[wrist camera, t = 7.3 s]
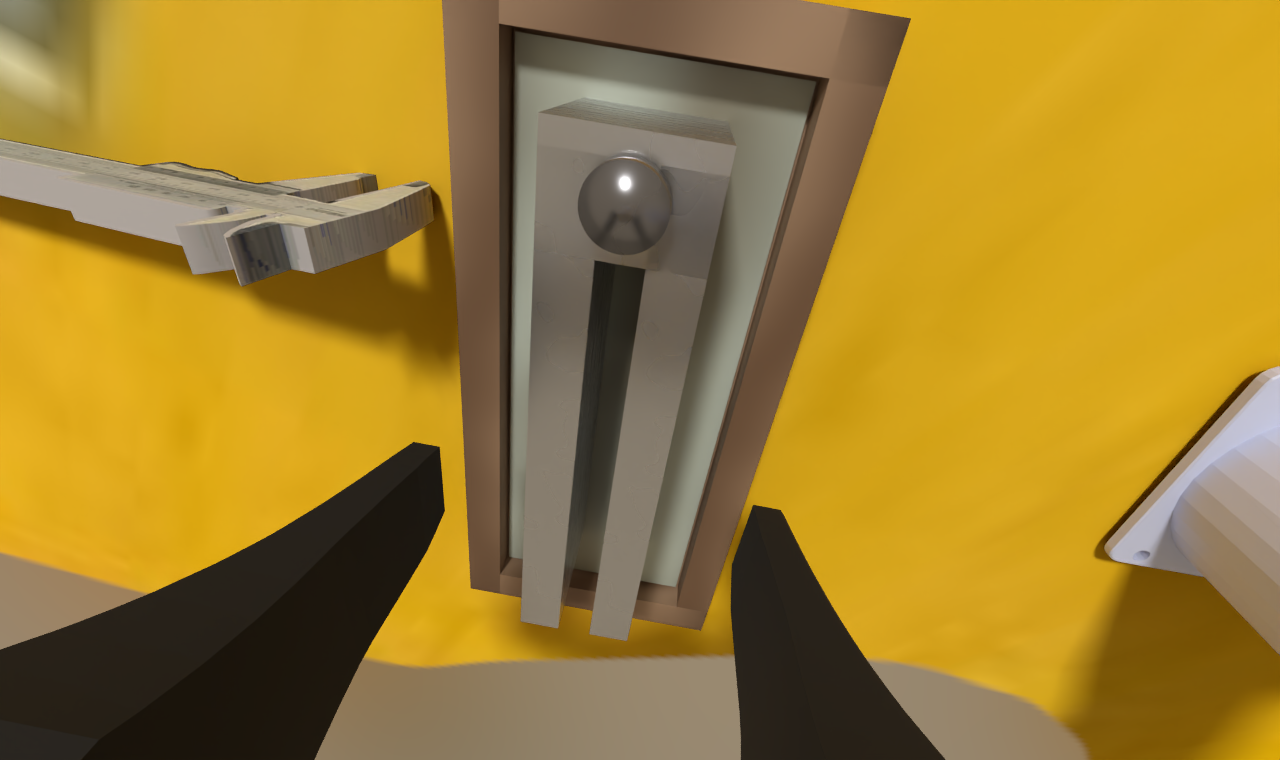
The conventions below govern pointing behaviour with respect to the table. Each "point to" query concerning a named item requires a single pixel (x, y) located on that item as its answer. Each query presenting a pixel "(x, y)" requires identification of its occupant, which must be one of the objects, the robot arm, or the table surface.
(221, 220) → the caliper
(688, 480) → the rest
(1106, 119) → the table surface
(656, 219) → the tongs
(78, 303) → the table surface
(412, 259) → the table surface
